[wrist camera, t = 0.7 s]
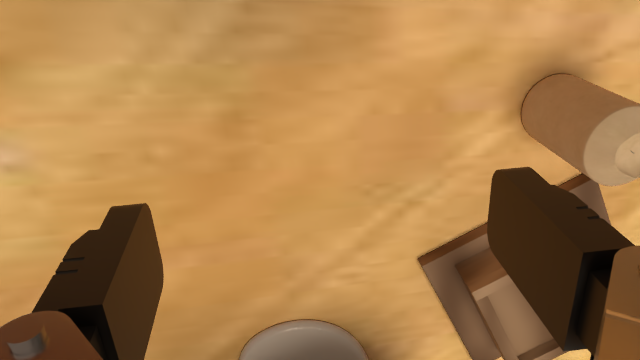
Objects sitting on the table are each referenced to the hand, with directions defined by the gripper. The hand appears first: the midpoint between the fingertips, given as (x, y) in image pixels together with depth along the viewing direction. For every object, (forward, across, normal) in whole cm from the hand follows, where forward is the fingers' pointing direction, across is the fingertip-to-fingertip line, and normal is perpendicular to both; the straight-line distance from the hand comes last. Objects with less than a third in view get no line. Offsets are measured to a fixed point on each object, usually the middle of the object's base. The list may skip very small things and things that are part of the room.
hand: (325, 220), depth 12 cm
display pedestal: (+26, -20, +23) cm, 41 cm away
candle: (+27, -21, +8) cm, 35 cm away
